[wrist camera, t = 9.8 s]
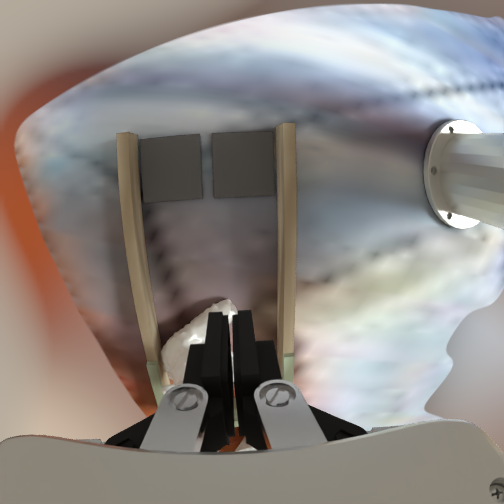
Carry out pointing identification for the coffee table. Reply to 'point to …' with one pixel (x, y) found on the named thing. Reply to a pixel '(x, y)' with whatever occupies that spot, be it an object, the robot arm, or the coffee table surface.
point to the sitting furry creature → (190, 342)
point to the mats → (224, 166)
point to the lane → (139, 262)
